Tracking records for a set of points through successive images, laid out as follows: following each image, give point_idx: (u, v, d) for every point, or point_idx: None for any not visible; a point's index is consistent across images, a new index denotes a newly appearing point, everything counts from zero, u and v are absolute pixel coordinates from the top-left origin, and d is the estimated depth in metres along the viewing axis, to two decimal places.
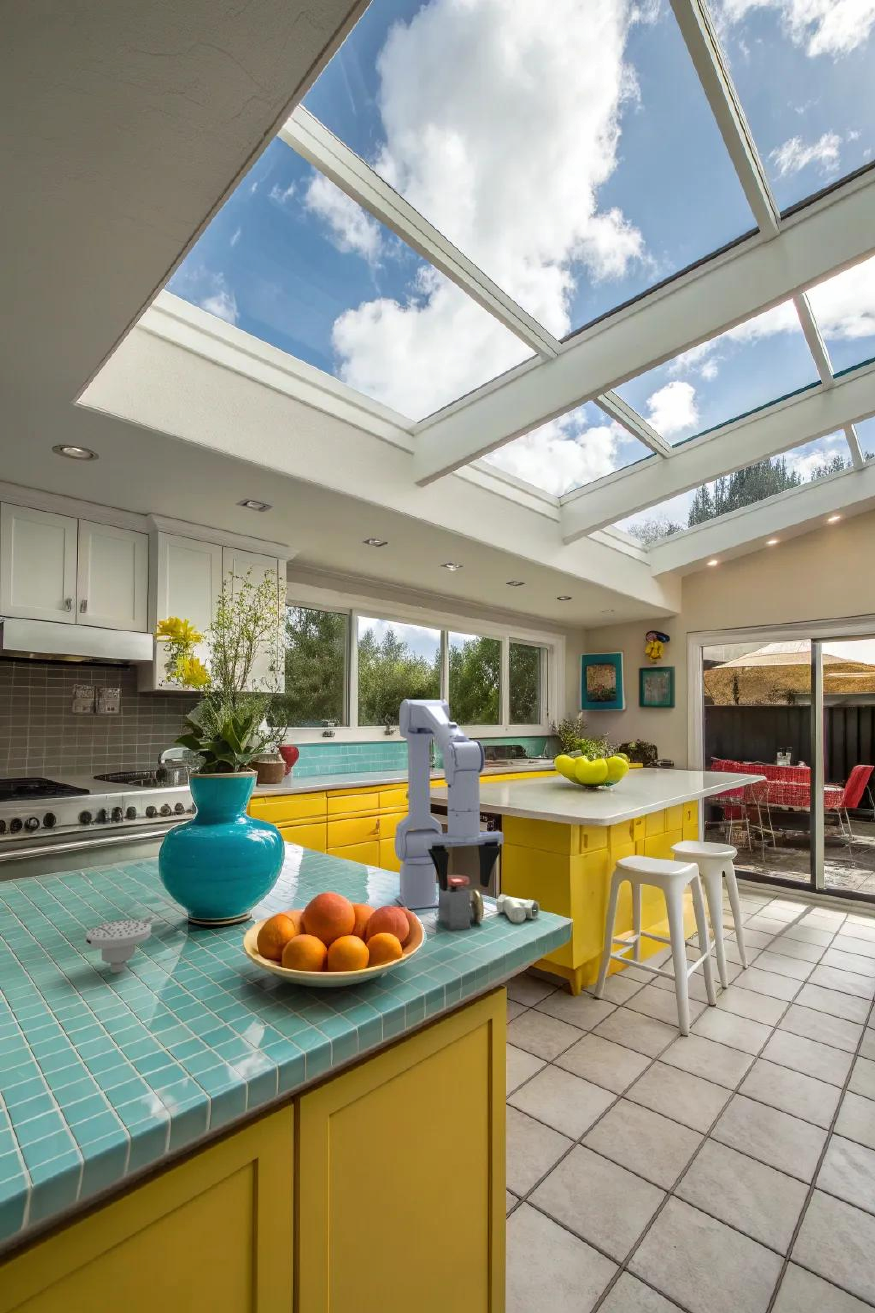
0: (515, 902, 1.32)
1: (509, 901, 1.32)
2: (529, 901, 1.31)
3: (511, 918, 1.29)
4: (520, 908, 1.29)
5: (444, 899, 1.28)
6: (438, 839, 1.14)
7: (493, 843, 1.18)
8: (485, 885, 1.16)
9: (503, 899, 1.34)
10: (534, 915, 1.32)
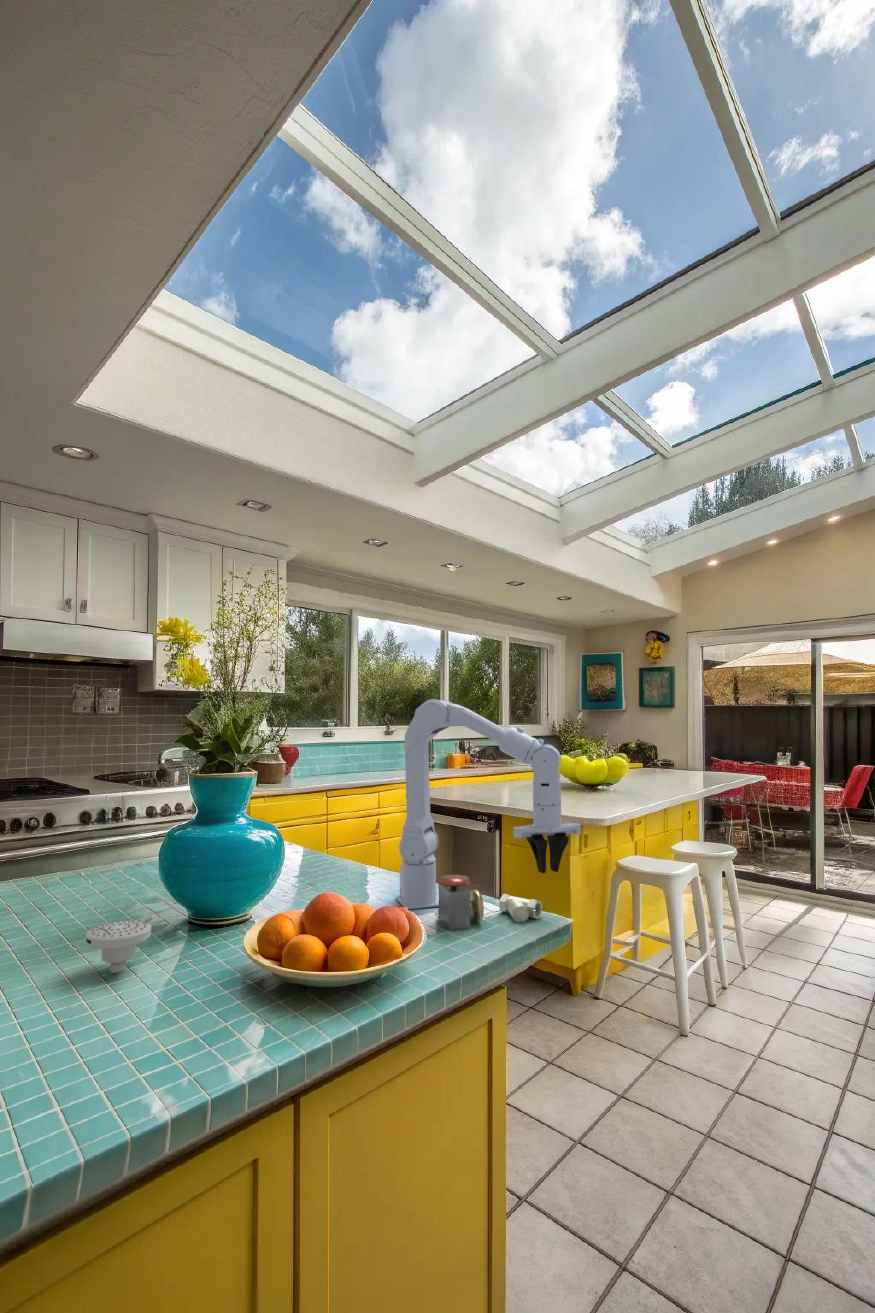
0: (518, 902, 1.32)
1: (512, 901, 1.33)
2: (532, 900, 1.32)
3: (514, 917, 1.29)
4: (523, 907, 1.29)
5: (444, 899, 1.28)
6: (527, 829, 1.33)
7: (572, 833, 1.37)
8: (556, 870, 1.34)
9: (506, 899, 1.35)
10: (537, 914, 1.32)
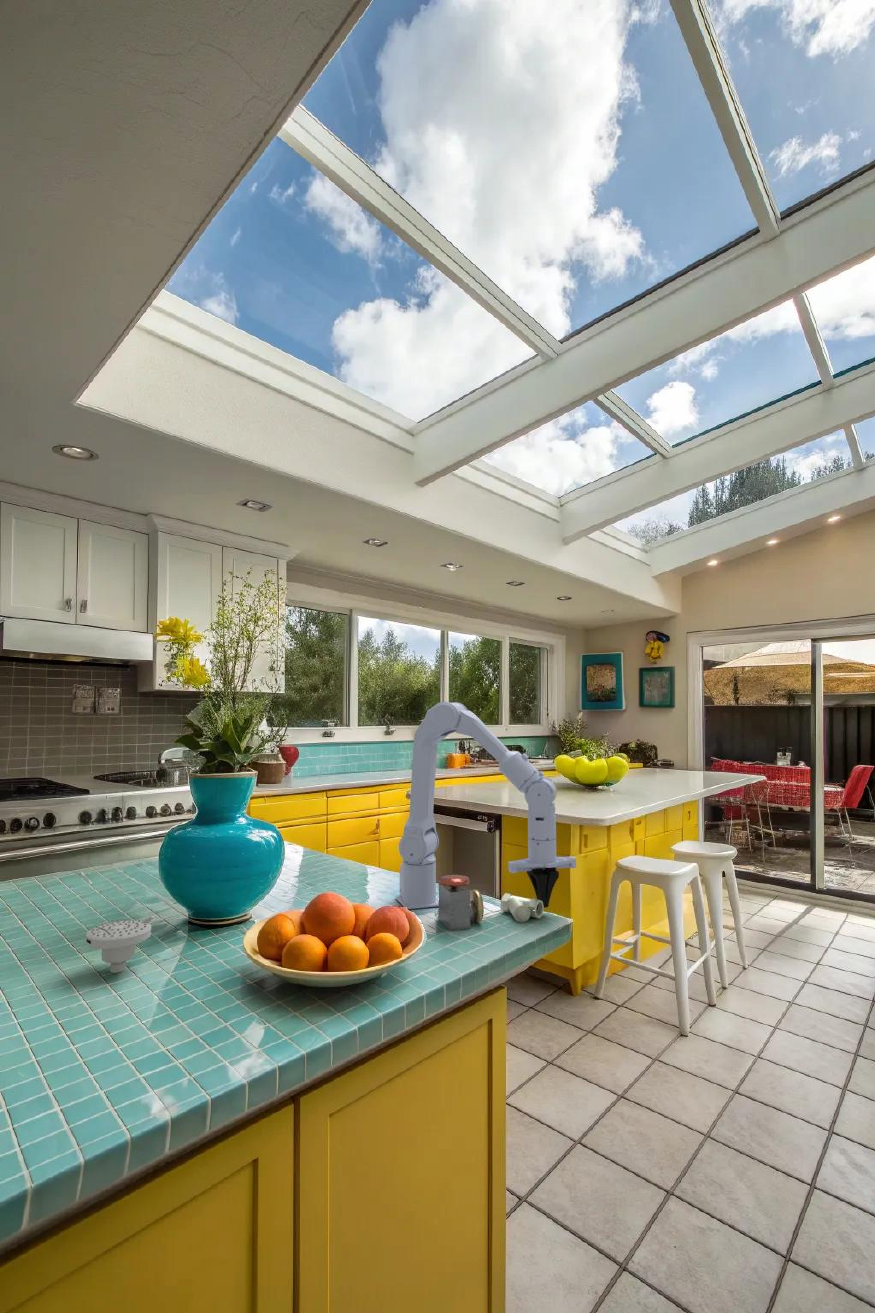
0: (519, 901, 1.32)
1: (513, 900, 1.33)
2: (533, 900, 1.32)
3: (515, 917, 1.29)
4: (524, 907, 1.30)
5: (444, 899, 1.28)
6: (522, 864, 1.32)
7: (567, 867, 1.36)
8: (546, 905, 1.33)
9: (508, 898, 1.35)
10: (538, 914, 1.32)
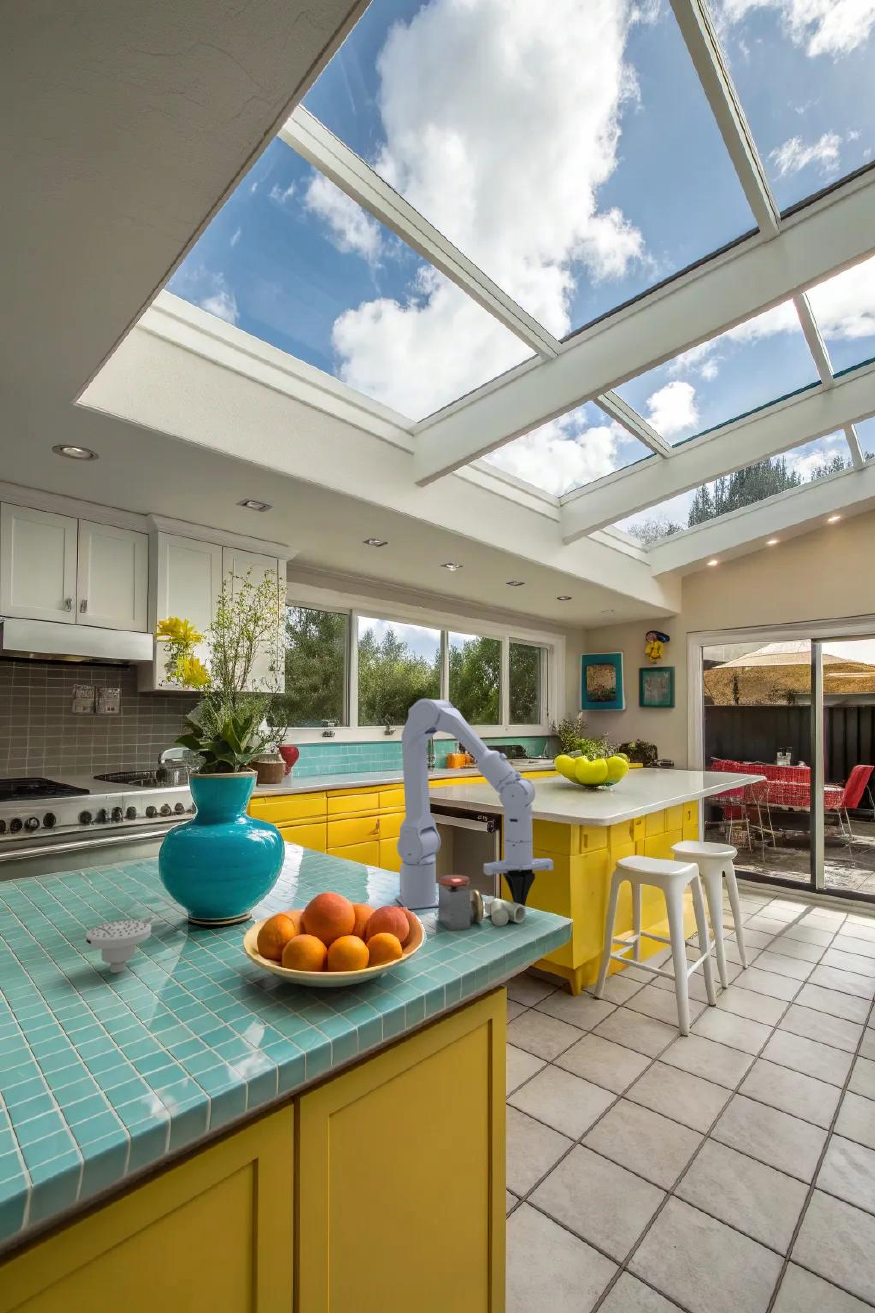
0: (500, 904, 1.30)
1: (495, 903, 1.31)
2: (514, 904, 1.29)
3: (493, 920, 1.27)
4: (502, 910, 1.27)
5: (444, 899, 1.28)
6: (497, 866, 1.30)
7: (544, 869, 1.34)
8: None
9: (491, 901, 1.33)
10: (520, 919, 1.29)
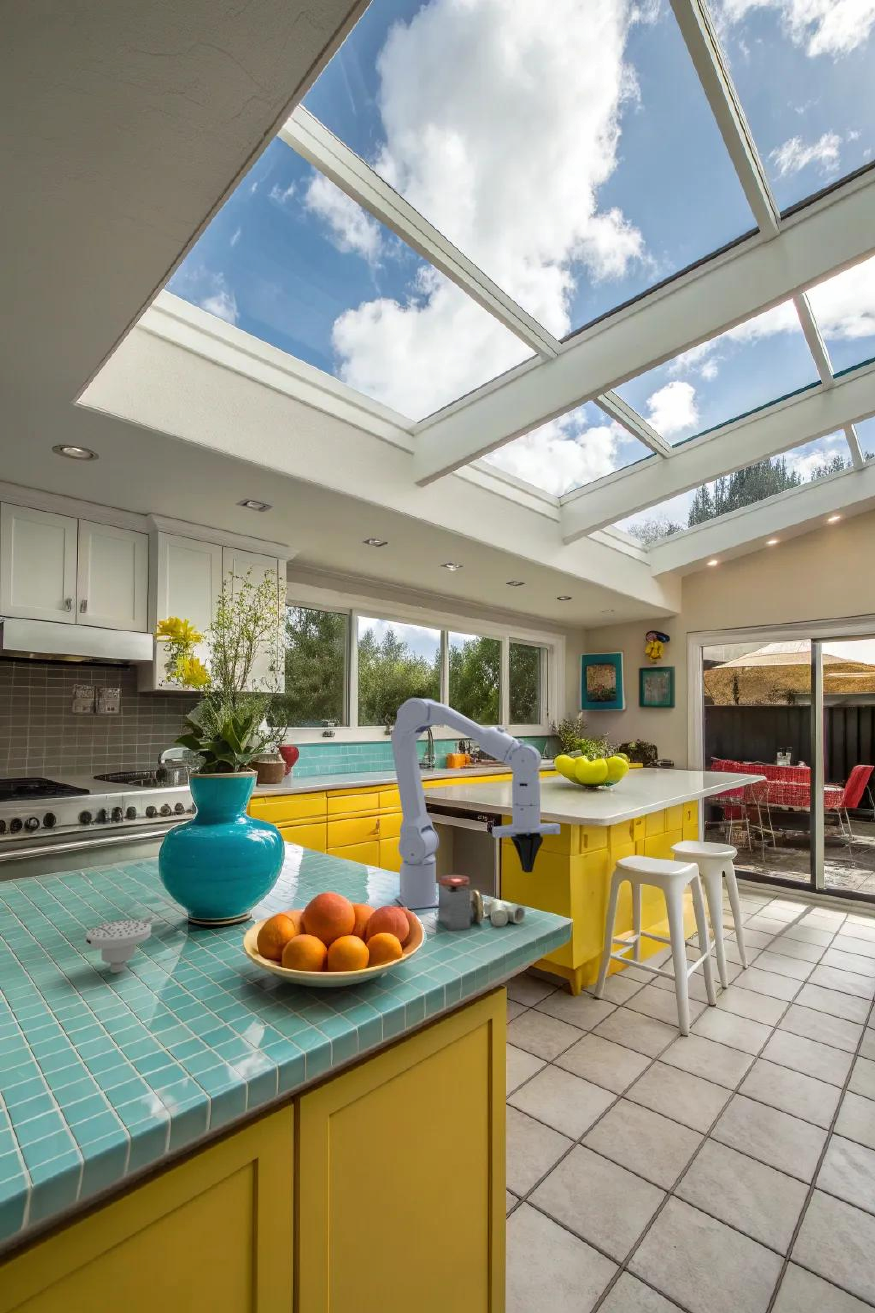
0: (499, 905, 1.30)
1: (494, 904, 1.31)
2: (513, 905, 1.29)
3: (492, 921, 1.27)
4: (502, 911, 1.27)
5: (444, 899, 1.28)
6: (506, 829, 1.33)
7: (551, 833, 1.37)
8: (530, 870, 1.34)
9: (490, 901, 1.33)
10: (519, 919, 1.29)
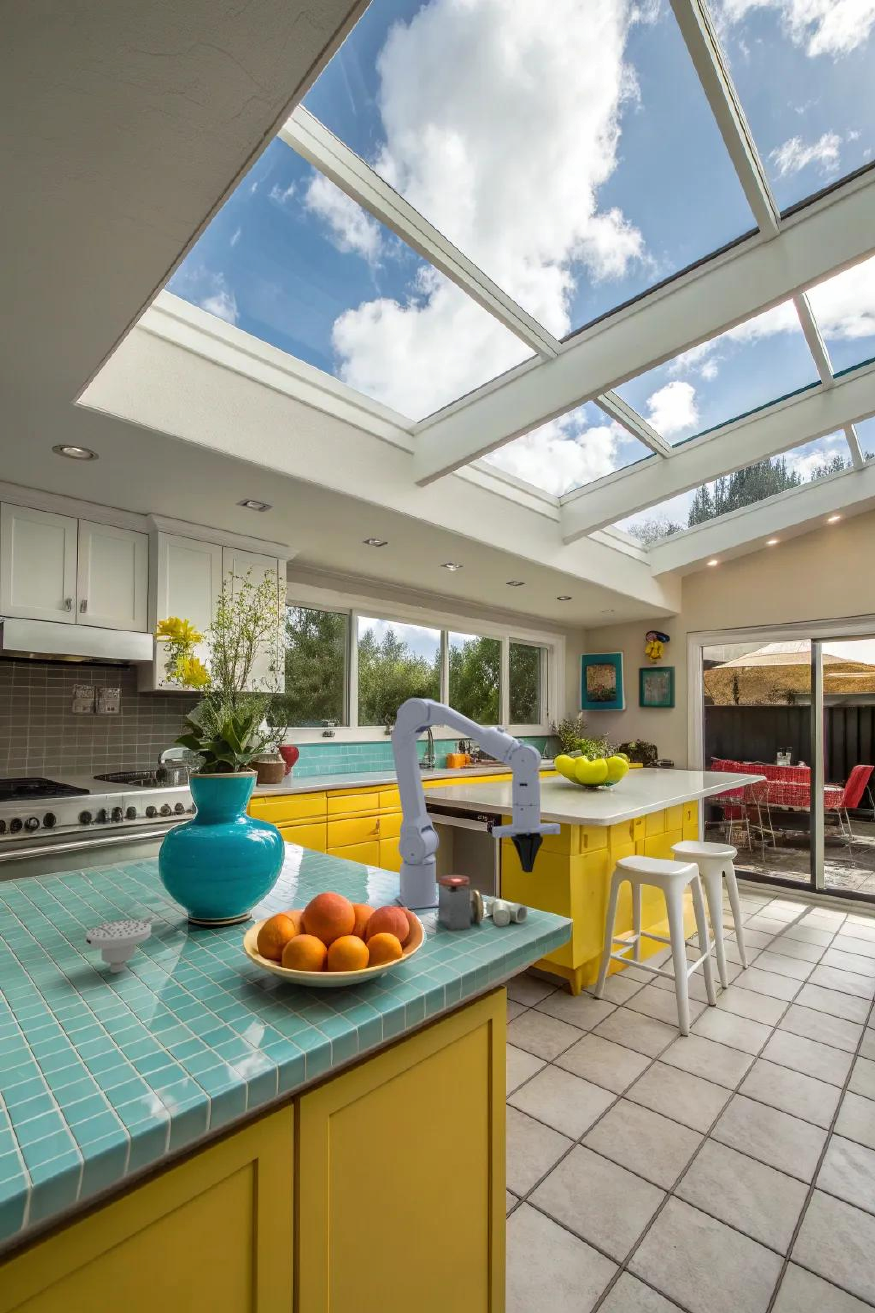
0: (502, 905, 1.30)
1: (497, 904, 1.31)
2: (516, 904, 1.29)
3: (495, 921, 1.27)
4: (504, 911, 1.27)
5: (444, 899, 1.28)
6: (506, 829, 1.33)
7: (551, 833, 1.37)
8: (530, 870, 1.34)
9: (492, 901, 1.33)
10: (522, 919, 1.29)
